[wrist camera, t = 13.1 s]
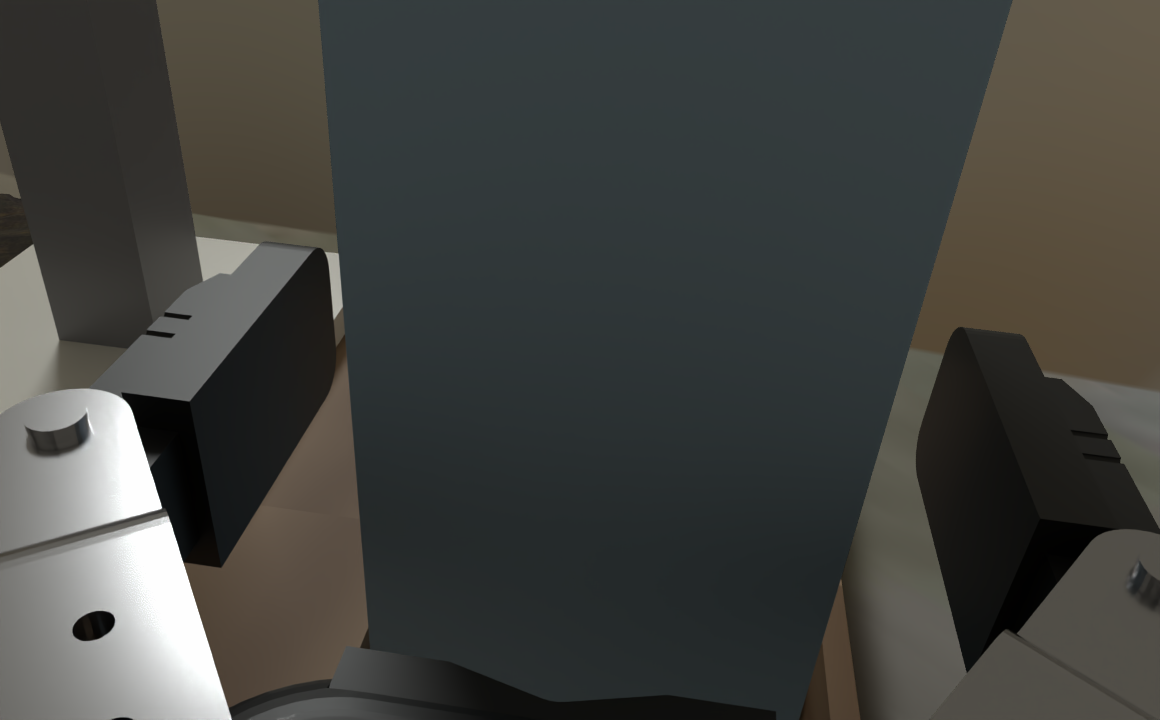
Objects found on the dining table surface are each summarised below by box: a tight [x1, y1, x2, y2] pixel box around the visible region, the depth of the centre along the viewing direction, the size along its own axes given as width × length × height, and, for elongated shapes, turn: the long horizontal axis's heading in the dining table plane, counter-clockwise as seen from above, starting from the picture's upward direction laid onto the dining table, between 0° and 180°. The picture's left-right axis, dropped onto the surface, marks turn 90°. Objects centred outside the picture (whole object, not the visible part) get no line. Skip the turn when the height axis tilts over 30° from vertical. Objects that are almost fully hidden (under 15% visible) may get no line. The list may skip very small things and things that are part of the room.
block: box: [318, 0, 1012, 720], centre depth 13 cm, size 5×5×15 cm
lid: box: [0, 0, 345, 414], centre depth 21 cm, size 9×9×10 cm
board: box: [183, 335, 860, 720], centre depth 18 cm, size 21×23×2 cm
